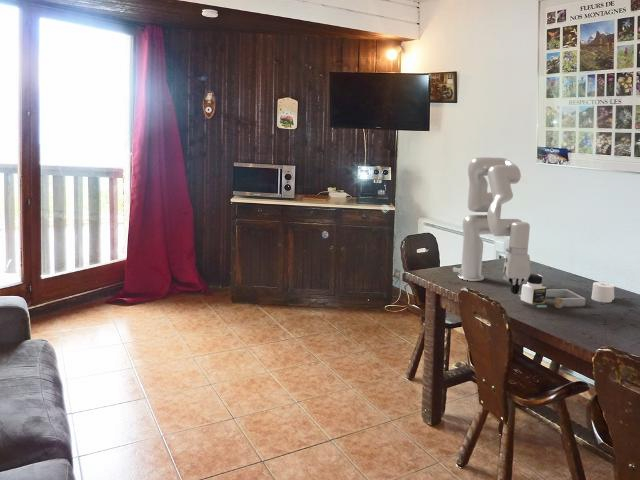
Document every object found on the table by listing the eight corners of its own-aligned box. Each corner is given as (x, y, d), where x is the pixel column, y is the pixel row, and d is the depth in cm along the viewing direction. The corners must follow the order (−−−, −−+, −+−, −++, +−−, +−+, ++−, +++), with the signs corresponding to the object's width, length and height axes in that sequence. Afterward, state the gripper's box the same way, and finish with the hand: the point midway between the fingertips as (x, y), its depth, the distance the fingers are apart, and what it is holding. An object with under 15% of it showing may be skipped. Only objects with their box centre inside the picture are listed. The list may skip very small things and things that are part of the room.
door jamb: (556, 308, 231) (557, 298, 231) (535, 295, 249) (536, 286, 248) (561, 307, 232) (562, 298, 231) (539, 295, 249) (540, 286, 248)
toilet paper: (614, 297, 249) (616, 282, 247) (610, 303, 240) (612, 288, 238) (594, 294, 253) (596, 279, 252) (589, 300, 244) (591, 284, 243)
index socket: (561, 306, 234) (562, 298, 233) (544, 296, 247) (544, 289, 247) (584, 306, 235) (585, 298, 234) (566, 296, 249) (566, 289, 248)
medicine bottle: (532, 305, 235) (535, 277, 232) (520, 300, 241) (522, 273, 239) (545, 303, 237) (548, 276, 235) (532, 298, 244) (535, 272, 241)
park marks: (537, 307, 231) (537, 305, 231) (519, 296, 247) (519, 294, 246) (546, 307, 232) (546, 305, 232) (527, 296, 247) (528, 294, 247)
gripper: (505, 253, 229) (501, 296, 232) (539, 252, 231) (535, 295, 234) (497, 249, 236) (493, 291, 239) (530, 249, 238) (526, 290, 241)
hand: (514, 293), depth 237 cm, fingers closed
